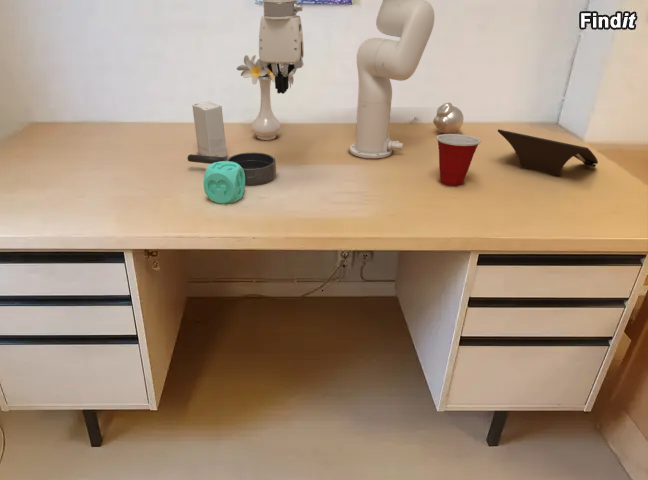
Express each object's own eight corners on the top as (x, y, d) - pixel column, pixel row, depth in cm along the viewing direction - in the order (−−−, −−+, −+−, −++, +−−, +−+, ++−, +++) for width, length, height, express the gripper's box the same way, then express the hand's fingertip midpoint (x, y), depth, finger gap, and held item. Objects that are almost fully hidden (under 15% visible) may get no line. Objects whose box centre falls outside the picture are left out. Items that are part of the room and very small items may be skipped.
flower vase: (298, 142, 173) (298, 58, 160) (239, 143, 173) (235, 59, 160) (295, 130, 184) (296, 50, 171) (240, 131, 184) (236, 51, 171)
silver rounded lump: (430, 129, 184) (434, 98, 179) (459, 130, 183) (464, 99, 178) (432, 137, 177) (436, 105, 171) (463, 138, 175) (468, 106, 170)
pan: (281, 170, 153) (281, 154, 151) (267, 188, 142) (266, 171, 140) (237, 165, 156) (236, 150, 154) (219, 183, 145) (218, 166, 143)
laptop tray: (592, 190, 154) (606, 158, 152) (576, 176, 136) (591, 139, 134) (512, 170, 167) (523, 140, 166) (487, 155, 149) (500, 121, 147)
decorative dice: (216, 189, 142) (214, 159, 138) (246, 192, 140) (244, 162, 136) (204, 202, 135) (201, 171, 131) (235, 205, 133) (233, 173, 129)
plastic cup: (474, 177, 148) (482, 132, 141) (471, 192, 139) (480, 146, 133) (432, 172, 151) (438, 129, 144) (428, 187, 142) (434, 141, 136)
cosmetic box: (227, 157, 162) (224, 106, 155) (209, 161, 160) (204, 109, 152) (214, 149, 168) (210, 100, 161) (196, 153, 166) (191, 103, 158)
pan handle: (230, 164, 150) (229, 156, 149) (227, 166, 149) (226, 159, 148) (189, 160, 153) (188, 153, 152) (186, 162, 151) (185, 155, 150)
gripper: (315, 8, 127) (315, 89, 137) (253, 7, 131) (257, 87, 140) (308, 12, 121) (308, 97, 131) (243, 12, 125) (248, 94, 134)
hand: (282, 92), depth 136 cm, fingers closed
